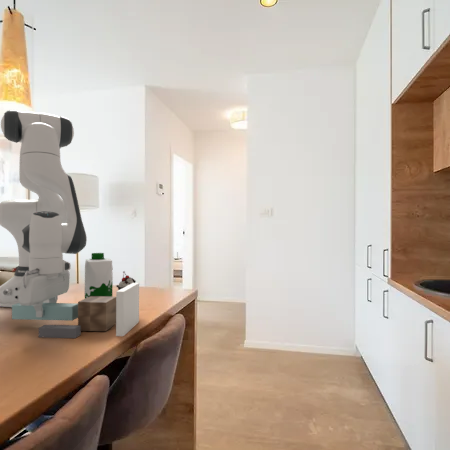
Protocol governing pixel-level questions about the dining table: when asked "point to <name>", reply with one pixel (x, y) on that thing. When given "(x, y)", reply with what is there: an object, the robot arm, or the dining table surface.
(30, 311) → the peg
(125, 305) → the wall
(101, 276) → the milk carton
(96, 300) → the block
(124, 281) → the sundae
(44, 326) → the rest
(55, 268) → the robot arm
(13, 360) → the dining table surface
